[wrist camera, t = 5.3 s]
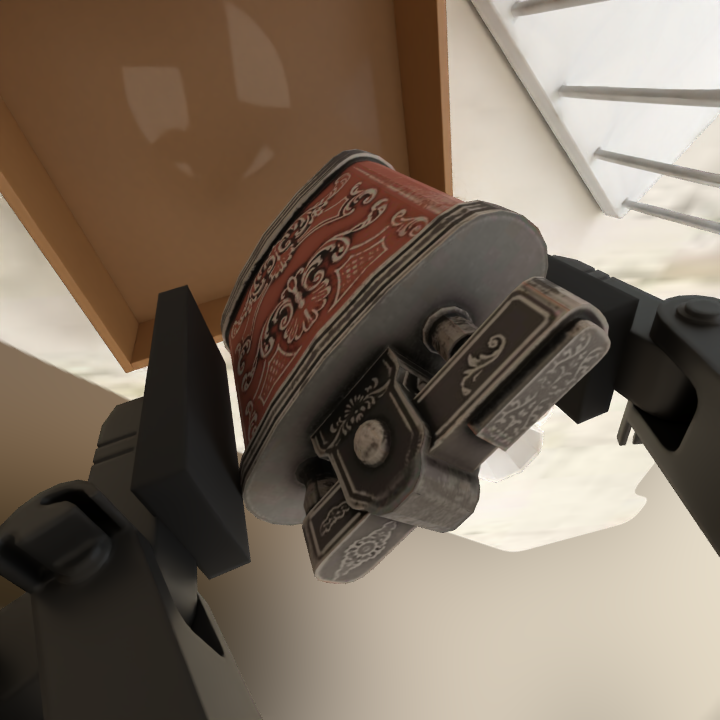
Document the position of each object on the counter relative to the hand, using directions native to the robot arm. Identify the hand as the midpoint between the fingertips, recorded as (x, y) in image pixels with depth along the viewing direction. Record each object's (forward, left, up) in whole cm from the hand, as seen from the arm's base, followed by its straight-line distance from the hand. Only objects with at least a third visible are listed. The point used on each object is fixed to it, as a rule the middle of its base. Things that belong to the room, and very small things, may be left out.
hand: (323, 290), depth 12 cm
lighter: (0, 0, -3) cm, 3 cm away
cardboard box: (-2, 0, -16) cm, 16 cm away
